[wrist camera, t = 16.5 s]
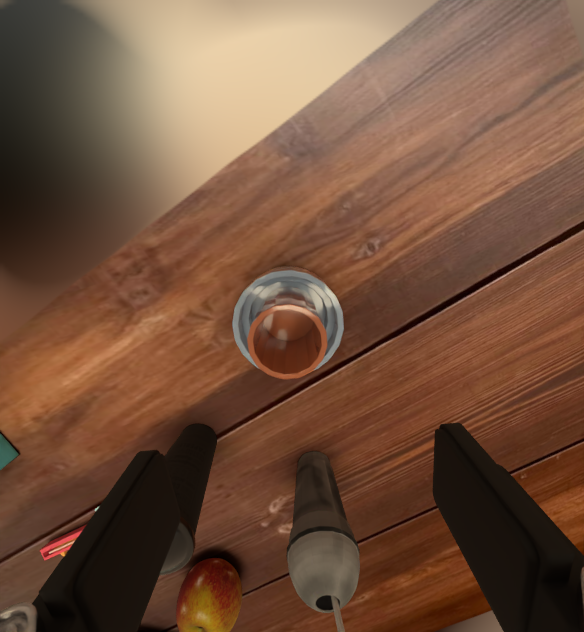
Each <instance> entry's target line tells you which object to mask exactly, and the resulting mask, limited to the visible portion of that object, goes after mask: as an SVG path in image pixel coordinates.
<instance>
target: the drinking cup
mask: <svg viewBox="0 0 584 632" xmlns="http://www.w3.org/2000/svg"><path fill="white" fill-rule="evenodd" d="M216 444H217V437H216V434H215V432H214V431H213V430H212V429H211V428H210V427H208V426H206V425H203V424H193V425H190V426H188V427H186V428H185V429H184V430H183V432H182V433H181V434H180V436H179V437H178V439H177V440H176V441H175V443H174V444H173V445H172V447H171V448H170V450H169V451H168V452H167V454H166V455H165V456H164V457H165V461H166V464H167V468H168V471H169V475H170V478H171V482H172V485H173V489H174V492H175V495H176V499H177V502H178V506H179V509H180V523H179V526H178V529H177V531H176V534H175V536H174V539H173V541H172V544H171V546H170V549H169V552H168V554H167V557H166V559H165V562H164V564H163V567H162V569H161V572H160V574H159V575H165V574H170V573H173V572H175V571H178V570H179V569H181V568H182V567H184V566H185V565H186V564H187V563H188V562H189V560H190V559H191V557H192V555H193V552H194V549H195V532H196V528H197V524H198V520H199V516H200V511H201V507H202V503H203V499H204V494H205V490H206V486H207V482H208V478H209V473H210V469H211V465H212V461H213V457H214V452H215V448H216Z"/></svg>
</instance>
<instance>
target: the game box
mask: <svg viewBox="0 0 584 632" xmlns="http://www.w3.org/2000/svg"><path fill="white" fill-rule="evenodd" d="M18 455H19V454H18V453H17V451H16V450H15V449H14V448H13V447H12V446H11V445H10V444H9V442H8V441H7V440H6V439H5V438H4V437H3V436H2V435H1V433H0V470H1V469H2V468H4V467H5V466H6V465H7V464H9V463H10V462H11V461H12V460H14V459H15V458H16V457H17V456H18Z"/></svg>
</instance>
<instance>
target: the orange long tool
mask: <svg viewBox="0 0 584 632" xmlns="http://www.w3.org/2000/svg"><path fill="white" fill-rule="evenodd" d="M98 508H99V506H98V507H97V508H96V509H95V511H97V509H98ZM85 526H86V525H84V526H82V527H80V528H78V529H76V530H74V531H72V532H69V533H67V534H65V535H63V536H61V537H59V538H57V539H54V540H52V541H50V542H49V543H48V544H47V545H45V546H44V547H43V548H41V549H40V552H41V554H42V556H43V558H44V560H47V559H49V558H51V557H53V556H56V555H58V554H61V555H62V556H63V557H64V556H65V554H66V553H67V551H66V550H69V549H70V547H71V546H72V544H73V543H74V542H75V540H76V539H77V537H78V536H79V535H80V533H81V532H82V530H83V529H84V528H85Z"/></svg>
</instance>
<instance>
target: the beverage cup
mask: <svg viewBox="0 0 584 632" xmlns="http://www.w3.org/2000/svg"><path fill="white" fill-rule="evenodd" d="M287 561H288V567H289V573H290V576H291V579H292V582H293V585H294V587H295V590H296V592H297V593H298V595H299V596H300V598H301V599H302V600H303V601H304V602H305V603H306V604H307V605H308V606H309V607H311V608H313V609H314V610H316V611H319V612H323V613H330V612H334V614H335V619H336V624H337V629H338V632H345V631H344V627H343V622H342V618H341V613H340V609H341V608H342V607H344V606H345V605H346V604H347V603H348V602H349V600H350V599H351V597H352V596H353V594H354V592H355V590H356V587H357V583H358V577H359V570H360V561H359V548H358V544H357V542H356V540H355V539H354V535H353V533H352V530H351V528H350V525H349V524H348V522H347V519H346V515H345V512H344V508H343V505H342V501H341V498H340V494H339V491H338V487H337V484H336V480H335V477H334V473H333V470H332V467H331V465H330V461H329V459H328V457H327V456H326V455H325V454H323V453H321V452H316V451H312V452H308V453H306V454H304V455H303V456H302V457H301V458H300V459H299V461H298V469H297V476H296V489H295V502H294V514H293V527H292V529H291V533H290V539H289V545H288V547H287Z"/></svg>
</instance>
